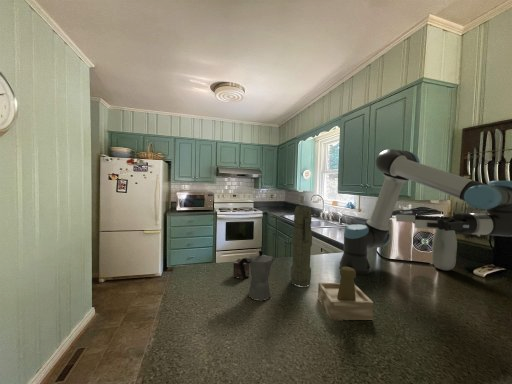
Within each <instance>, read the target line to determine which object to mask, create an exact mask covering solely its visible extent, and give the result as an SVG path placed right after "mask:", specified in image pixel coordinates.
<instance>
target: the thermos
mask: <svg viewBox="0 0 512 384" xmlns="http://www.w3.org/2000/svg"><path fill="white" fill-rule="evenodd" d="M293 212H294V214H293V215H294V216H293V217H294V218H293V223H294V224H293V229H292V232H291V233H292V234H291V245H292V260H291V262H292V263H291V264H292V265H291V267H290V283H291V282H292V283H293V284H296V285H300V286H307V285H309V284H310V285H311V278H312V268H311V250H312V246H313V231H312V215H313V214H312V210H311V207H310V206H309V205H303V204H302V205H300V204H299V205H297V206H296V207H295V209H294V211H293Z"/></svg>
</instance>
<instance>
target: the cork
mask: <svg viewBox="0 0 512 384" xmlns="http://www.w3.org/2000/svg"><path fill="white" fill-rule="evenodd" d="M339 275H340V281H339V283H340V285H339V291H338V296H337V298H338V300H345V301H356V297H355V285H356V284H355V279H356V277H357V274H356V271H355V270H354V269H353V268H350V267H342V268H341V269H339ZM354 284H355V285H354Z"/></svg>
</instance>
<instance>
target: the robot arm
mask: <svg viewBox="0 0 512 384" xmlns="http://www.w3.org/2000/svg"><path fill="white" fill-rule="evenodd" d="M375 166H376V168H377V169H378V170H379V171H380V172H381V173H382V175H383V177H384V179H383V180H384V181H383V184H382V186H381V188H380V191H379V194H378V197H377V200H376V202H375V206H374V208H373V211H372V213H371V217H370V219H367V220H366V222H365V224H360V223H359V224H357V223H356V224H349V225H346V226H345V228H344V232H343V253H342V255H341V258H340V261H339V266H340V267H339V268H342V267H350V268H353V269H354V270H355V271H356V275H363V276H364V275H369V274H371V264H370V262H369V258H368V250H369V249H376V248H383V247H385V246H387V244H389V243H390V241H391V234H390V233H391V232H390V229H391V228H390V226H389V223H390V219H391V217H392V215H393V212H394V209H395V206H396V204H397V201H398V199H399V196H400V193H401V191H402V190H403V186H404V184H405V183H407V182H408V181H412V182H414V183H417V184H419V185H421V186H425V187H427V188H429V189H433V190H435V191H437V192H440V193H443V194H445V195H448V196H451V197H453V198H456V199H458V200H460V201H463V202H465V203H466V204H467V205H469V206H470V207H471V208H474V209H479V210H486V213H480V212H479V213H476V212H474V213H473V212H471V213H470V212H456V213H454V215H453V216H452V217H450V216H439V215H438V216H437V215H436V216H434V215H433V216H432V215H421V214H420V215H419V214H396V217H395V218H396V220H395V221H396V222H402V223H413V224H414V228H415V229H429V230H430V229H431V230H436V229H437V228H438V229H440V230H442V229H444V230H445V231H452V230H454V231H455V234H456V233H457V234H459V235H476V236H477V237H481V236H494V237H495V236H498V237H506V238H507V237H512V180H490V181H489V182H488V184H486V183H483V182H480V181H476V180H473V179H470V178H467V177H464V176H461V175H457V174H454V173H451V172H450V171H449V172H448V171H445V170H442V169H439V168H436V167H432V166H429V165H426V164H424V163H423V164H422V163H421V162H420V159H419V157H418V156H417V154H416V153H415V152H411V151H408V150H401V149H394V148H391V149H390V148H389V149H388V148H387V149H385V150H383V151H381V152H380V153H379V154H378V155H377V156H376V159H375Z"/></svg>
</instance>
